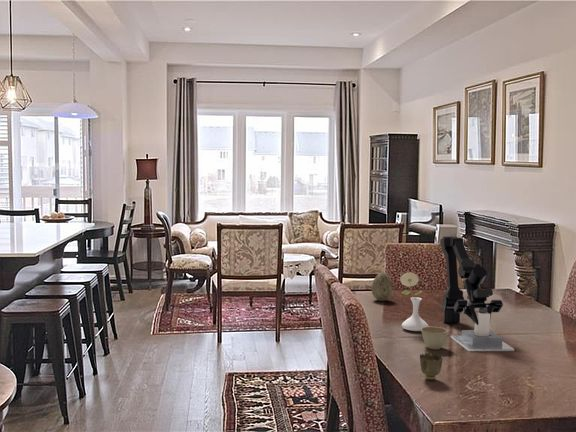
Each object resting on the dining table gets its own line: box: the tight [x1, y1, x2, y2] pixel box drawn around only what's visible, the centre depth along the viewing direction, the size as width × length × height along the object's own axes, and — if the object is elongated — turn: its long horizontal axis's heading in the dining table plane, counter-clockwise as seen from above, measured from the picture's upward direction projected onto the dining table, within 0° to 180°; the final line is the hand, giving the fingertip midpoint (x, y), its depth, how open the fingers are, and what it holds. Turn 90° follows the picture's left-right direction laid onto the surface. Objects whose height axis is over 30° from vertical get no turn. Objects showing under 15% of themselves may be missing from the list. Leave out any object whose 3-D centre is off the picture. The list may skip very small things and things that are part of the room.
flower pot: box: [420, 326, 449, 350], centre depth 246 cm, size 10×10×7 cm
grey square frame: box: [450, 329, 515, 352], centre depth 253 cm, size 20×18×4 cm
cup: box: [419, 352, 444, 382], centre depth 209 cm, size 8×7×8 cm
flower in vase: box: [399, 271, 430, 332], centre depth 272 cm, size 13×11×25 cm
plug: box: [473, 308, 491, 336], centre depth 252 cm, size 4×4×12 cm
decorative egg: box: [371, 271, 393, 302], centre depth 329 cm, size 11×11×15 cm
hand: (483, 324), depth 251 cm, fingers closed on plug, 4 cm apart
